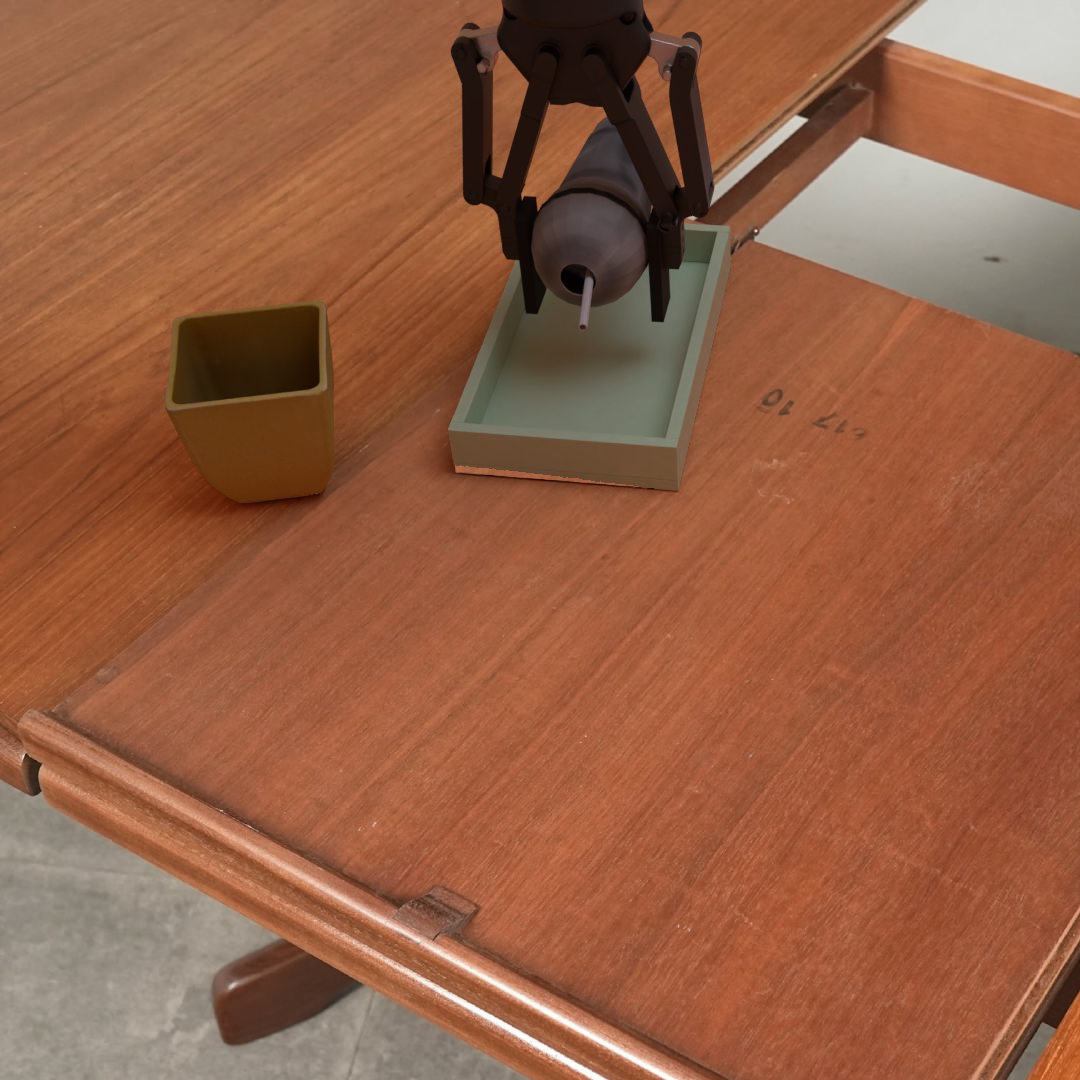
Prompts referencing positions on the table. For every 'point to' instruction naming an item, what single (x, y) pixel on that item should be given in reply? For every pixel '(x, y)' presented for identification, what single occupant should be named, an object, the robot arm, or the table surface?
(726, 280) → the tray
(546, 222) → the beverage cup
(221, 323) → the flower pot
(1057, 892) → the table surface
